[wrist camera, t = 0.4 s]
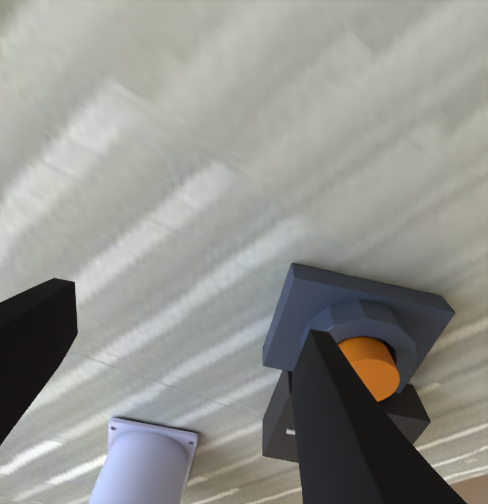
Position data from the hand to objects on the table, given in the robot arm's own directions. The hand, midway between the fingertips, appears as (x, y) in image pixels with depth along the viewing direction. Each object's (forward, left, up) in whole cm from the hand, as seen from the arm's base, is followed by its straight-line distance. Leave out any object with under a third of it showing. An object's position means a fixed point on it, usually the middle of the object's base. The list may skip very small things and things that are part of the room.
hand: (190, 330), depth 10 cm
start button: (-6, -10, -7) cm, 13 cm away
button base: (-6, -10, -10) cm, 15 cm away
